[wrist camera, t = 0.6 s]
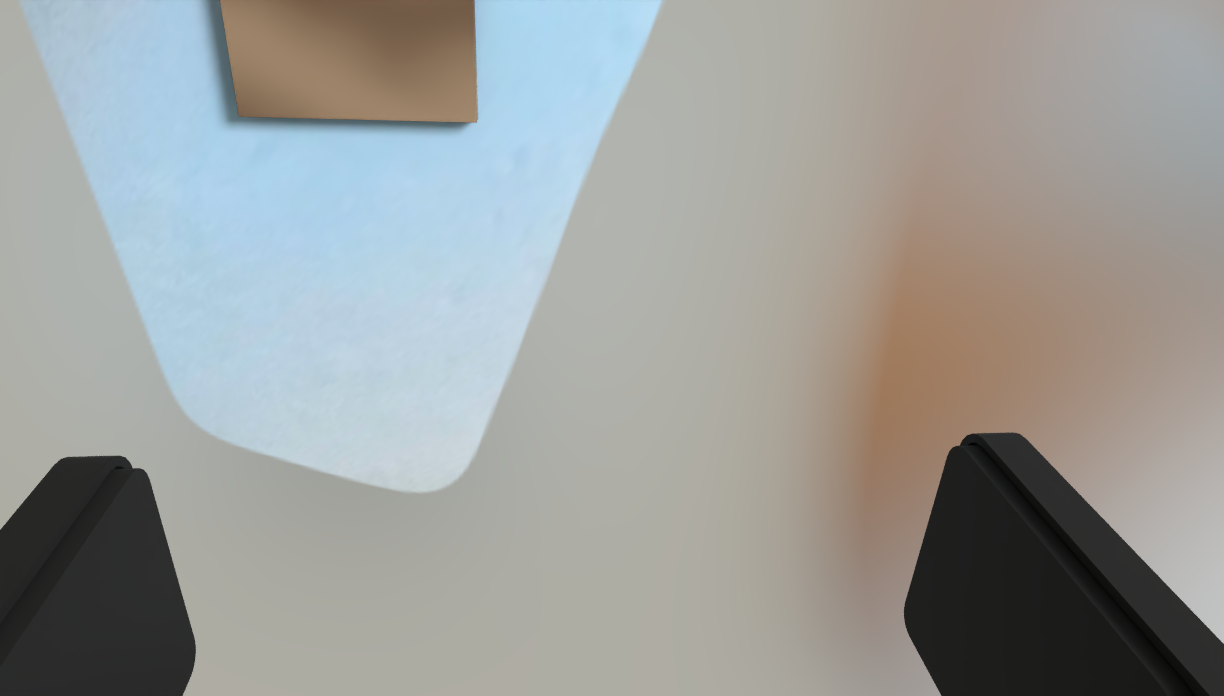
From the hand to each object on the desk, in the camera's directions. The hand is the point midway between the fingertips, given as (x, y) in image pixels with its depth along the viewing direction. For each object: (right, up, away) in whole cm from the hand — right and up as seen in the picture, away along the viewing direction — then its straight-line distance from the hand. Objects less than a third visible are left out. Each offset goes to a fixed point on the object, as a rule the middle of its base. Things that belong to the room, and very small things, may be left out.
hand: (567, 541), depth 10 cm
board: (-9, +16, +20) cm, 27 cm away
